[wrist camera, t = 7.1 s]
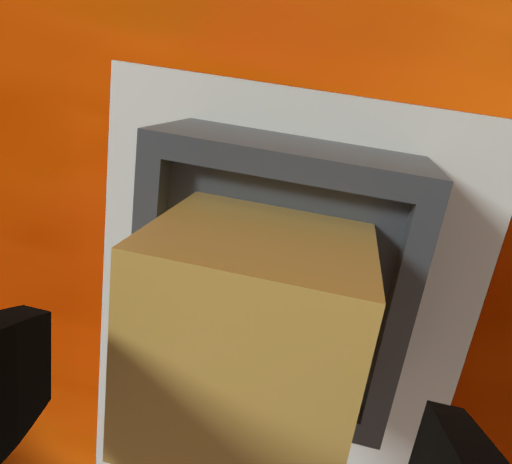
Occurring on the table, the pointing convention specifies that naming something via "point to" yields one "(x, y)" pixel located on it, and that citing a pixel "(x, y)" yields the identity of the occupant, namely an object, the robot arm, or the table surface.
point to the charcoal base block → (315, 201)
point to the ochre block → (240, 335)
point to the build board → (358, 133)
